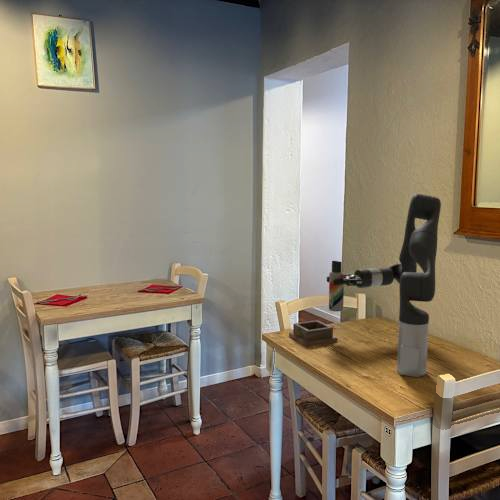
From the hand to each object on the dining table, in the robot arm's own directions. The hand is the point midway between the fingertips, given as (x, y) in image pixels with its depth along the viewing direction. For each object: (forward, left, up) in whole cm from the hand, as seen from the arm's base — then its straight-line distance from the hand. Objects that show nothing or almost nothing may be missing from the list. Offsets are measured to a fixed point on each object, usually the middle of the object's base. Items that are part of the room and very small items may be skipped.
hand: (330, 280), depth 191 cm
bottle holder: (-3, +6, -24) cm, 25 cm away
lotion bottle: (+2, -2, -12) cm, 12 cm away
